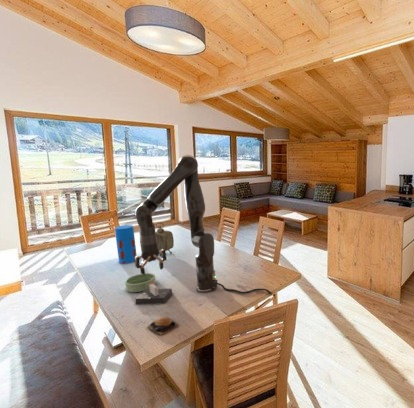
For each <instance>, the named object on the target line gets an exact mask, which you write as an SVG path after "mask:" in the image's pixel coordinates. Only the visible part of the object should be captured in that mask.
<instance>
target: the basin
mask: <svg viewBox="0 0 414 408" xmlns="http://www.w3.org/2000/svg"><path fill="white" fill-rule="evenodd" d="M150 283H153V284H154V285H156V283H157V280H156V275H155V274H153V273H149V272H148V273H146V272H145V275H143V274H141V273H139V274H135V275H131V276H130V277H128V278H127V279H125V281H124V285H125V290H126V291H127V292H129V293H142V292H143V291H144V290H145V289H150V287H149V284H150Z"/></svg>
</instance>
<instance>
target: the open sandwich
mask: <svg viewBox="0 0 414 408" xmlns="http://www.w3.org/2000/svg"><path fill="white" fill-rule="evenodd" d="M176 327H178V325H177V323H176V322H174V321H173V320H172V319H170V318H169V317H166V316H162V317H159V318H157V319H156V320H154V321H152V322H151V323H150V324H149V325H148V327H147V328H149V329H150V330H151V331H153V332H154V333H155V334H158V335H159V336H163V335H165V334H167V333H169V332H170V331H172V330H174V329H175V328H176Z"/></svg>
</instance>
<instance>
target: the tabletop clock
mask: <svg viewBox="0 0 414 408" xmlns="http://www.w3.org/2000/svg"><path fill="white" fill-rule="evenodd" d="M158 224H160V225H159V226H157V225H158ZM161 225H162V226H161ZM155 228H157V230H156V231H155V232H156V236H157V244H158V251H160V250H161V249H164V250H165V252H167V251H168V252H169V254H171V255H172V254H173V252H172V251H171V249H173V248H174V247H175V245H174V244H175V240H174V234H173V232H172V231H171V230H165V229H164V228H165V224H164V223H163V222H156V223H155ZM158 256H159V257H162V254H161V253H159V255H158Z"/></svg>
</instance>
